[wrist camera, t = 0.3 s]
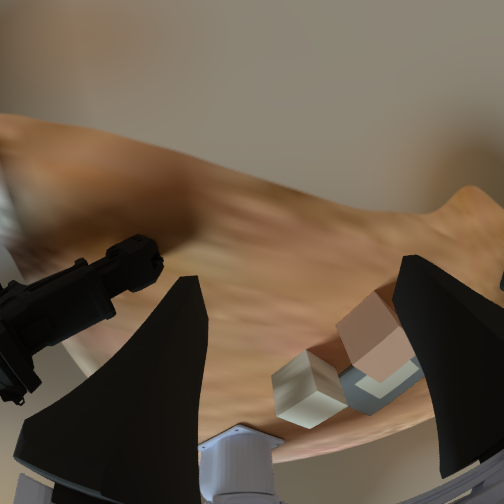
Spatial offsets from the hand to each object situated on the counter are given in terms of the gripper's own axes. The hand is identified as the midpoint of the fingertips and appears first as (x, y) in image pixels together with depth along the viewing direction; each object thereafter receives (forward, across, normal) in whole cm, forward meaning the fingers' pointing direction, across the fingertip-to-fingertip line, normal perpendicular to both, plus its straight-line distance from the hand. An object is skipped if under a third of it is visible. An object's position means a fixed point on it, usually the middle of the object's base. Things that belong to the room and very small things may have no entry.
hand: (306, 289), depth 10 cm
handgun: (+10, +20, +4) cm, 23 cm away
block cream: (+8, -2, +18) cm, 19 cm away
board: (+8, -12, +21) cm, 25 cm away
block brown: (+9, -8, +12) cm, 17 cm away
